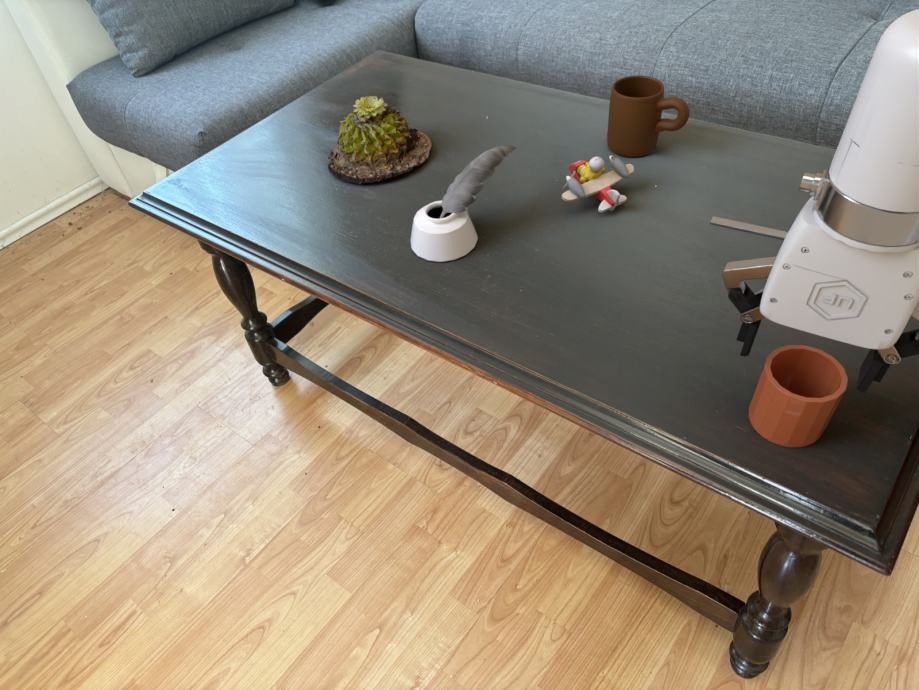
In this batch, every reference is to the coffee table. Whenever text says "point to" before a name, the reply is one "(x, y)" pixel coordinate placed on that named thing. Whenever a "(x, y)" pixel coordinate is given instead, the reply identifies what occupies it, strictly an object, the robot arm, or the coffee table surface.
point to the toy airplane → (597, 182)
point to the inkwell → (454, 212)
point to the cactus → (376, 144)
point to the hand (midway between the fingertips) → (802, 362)
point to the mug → (640, 115)
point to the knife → (748, 227)
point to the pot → (796, 395)
